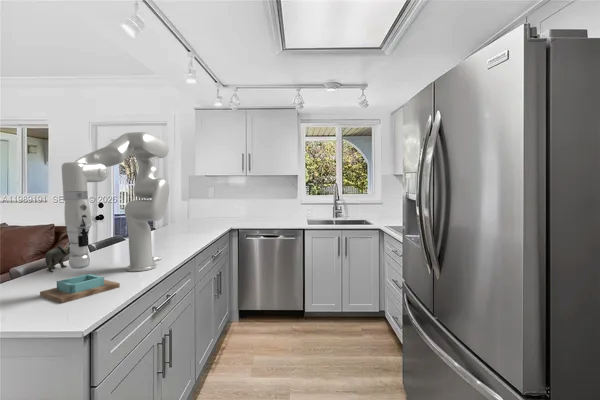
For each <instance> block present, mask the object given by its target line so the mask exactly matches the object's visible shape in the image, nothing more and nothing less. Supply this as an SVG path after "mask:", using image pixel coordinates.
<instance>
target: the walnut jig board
mask: <svg viewBox="0 0 600 400" xmlns="http://www.w3.org/2000/svg"><path fill="white" fill-rule="evenodd" d="M120 286H121V284H120V283H119V282H117V281H111V280H108V279H105V277H104V276H100V275H96V274H91V273H87V274H83V275H78V276H75V277H70V278H69V277H68V278H66V279H61V280H56V287H54V288H50V289H45V290H42V291H39V297H43V298H45V299H48V300H51V301H54V302H57V303H61V304H65V303H68V302H72V301H75V300H79V299H82V298H86V297H89V296H92V295H93V296H94V295H96V294H100V293H103V292H107V291H111V290H114V289H117V288H120Z"/></svg>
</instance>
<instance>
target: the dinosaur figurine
mask: <svg viewBox="0 0 600 400" xmlns="http://www.w3.org/2000/svg"><path fill="white" fill-rule="evenodd" d="M68 255H69V256H70V245H69V244H68V245H67V246H66V247H63V246H61V245H59V244H58V245H57V248H51V249H50V250H48V251H47V252H45V256H44V257H45V258H44V259H45V264H46V266H43V267H42V268H43V269H46V271H48V273H54V271H53V269H55V268H56V265H57V264H59V265H60V268H61V269H64V268H66V267H68V266H67V265H65V264H64V261H65V258H66V257H67V256H68Z"/></svg>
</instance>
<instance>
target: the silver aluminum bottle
mask: <svg viewBox="0 0 600 400" xmlns="http://www.w3.org/2000/svg"><path fill="white" fill-rule="evenodd" d="M80 227H84V225H83V226H80ZM82 230H83V229H81V231H82ZM66 233H67V237H68V238H69V239H68V245H69V244H70V254H69V258H68V264H69V265H68V266H69V267H70V268H71V269H74V270H75V269H77V270H80V269H84V268H87V267H89V266H90V263H91V260H90V259H91V258H90V254H89V251H88V246H84V247H79V244H78V236H79V232H78V228H75V227H74V226H73V224H71V223H70V224H69V225H68V227H66Z"/></svg>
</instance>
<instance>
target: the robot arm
mask: <svg viewBox="0 0 600 400" xmlns="http://www.w3.org/2000/svg"><path fill="white" fill-rule="evenodd" d="M131 155H133V156H134V159H135V160H136V162H137V165H138V166H137V167H138V171H137V175H136V178H135V179H136V180H135V183H134V187H133V195H134V196H135V197H136V198H139V199H135V200H130V201H128V202H127V203H126V205H125V206H124V216H125V219H126V224H127V234H128V252H129V253H128V254H129V265H127V266H126V268H125V269H126V271H128V272H144V271H149V270H152V269H155V268H156V267H157V264H156V262H159V261H161V260H162V257H161V256H153V249H152V247H153V245H152V230H151V225H150V224H149V223H148V222H149V221H150V222H157V221H160V220H162V219H163V218H164V215H165V212H166V209H167V205H168V199H169V196H170V195H169V194H170V185H169V182H168V180H166V179H165V178H163V177H162V178H161V177H158V175H159V174H158V172H159V171H158V167H157V165H156V163H155V161H154V159H164V158H165V157H167V156H168V155H169V145H168V143H167V142H166V141H165V140H163V139H162V138H159V137H158V136H156V135H153V134H151V133H148V132H146V131H145V132H144V131H139V132H138V131H137V132H136V131H135V132H126V133H123V134H121V135H120V136H118V137H117V138H116V139H114V140H113V141H112V142H110V143H109V144H107V145H106V146H103V147H101V148H99V149H96V150H95V151H92V152H90V153H87V154H85V155H83V156H81V157H79V158H78V159H76V160H75V161H73V162H70V161H68V162H64V163H62V165H61V180H62V182H61V183H62V195H63V197H62V198H63V202H64V225H65V227H66V228H67V227H68V225H69V224H70V223H71V224H73V226H74V227H75V228H78V232H79V236H78V244H79V247H84V246H87V247H88V246H89V235H90V233H89V232H90V229H91V226H92V224H93V223H92V215H91V208H90V202H89V198H88V196H89V194H88V183H100V182H103V181H105V180H106V179H107V178H108V177H109V167H113V166H117V165H119V164H122V163H123V162H124V161H125V160H127V158H129V157H130V156H131ZM83 225H84V227H80V226H83ZM81 229H83V230H82V231H81ZM68 240H69V238H68ZM68 245H70V244H69V243H68Z"/></svg>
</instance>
